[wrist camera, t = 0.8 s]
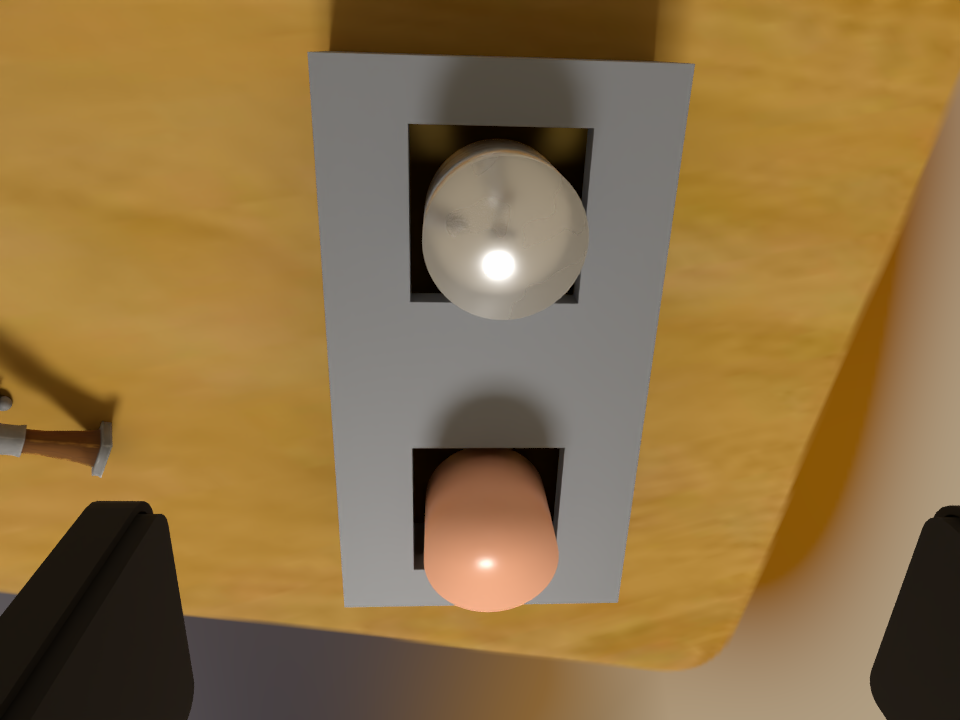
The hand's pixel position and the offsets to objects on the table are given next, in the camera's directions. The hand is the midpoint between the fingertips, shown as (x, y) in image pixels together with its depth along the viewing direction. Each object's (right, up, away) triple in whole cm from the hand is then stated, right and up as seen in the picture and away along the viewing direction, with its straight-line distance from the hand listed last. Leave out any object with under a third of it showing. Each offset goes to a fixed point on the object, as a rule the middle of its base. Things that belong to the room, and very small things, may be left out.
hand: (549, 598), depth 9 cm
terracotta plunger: (-1, -3, +21) cm, 21 cm away
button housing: (-1, +4, +21) cm, 22 cm away
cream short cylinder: (0, +8, +16) cm, 18 cm away
